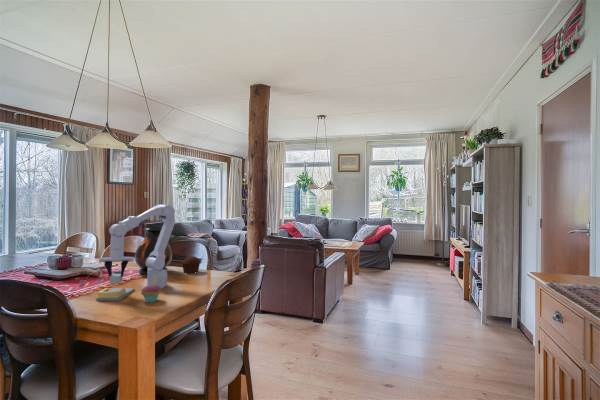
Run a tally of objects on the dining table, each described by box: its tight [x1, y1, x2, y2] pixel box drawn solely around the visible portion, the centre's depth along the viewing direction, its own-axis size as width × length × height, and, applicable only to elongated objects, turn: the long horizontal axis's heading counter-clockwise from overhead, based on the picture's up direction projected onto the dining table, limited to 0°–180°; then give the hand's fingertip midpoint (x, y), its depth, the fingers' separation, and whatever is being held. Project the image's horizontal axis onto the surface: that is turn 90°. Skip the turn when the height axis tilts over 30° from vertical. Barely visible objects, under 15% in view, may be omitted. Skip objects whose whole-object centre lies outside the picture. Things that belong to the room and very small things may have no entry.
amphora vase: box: [134, 226, 173, 275], centre depth 200 cm, size 22×22×28 cm
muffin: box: [181, 255, 201, 274], centre depth 203 cm, size 12×11×10 cm
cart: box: [109, 270, 123, 284], centre depth 154 cm, size 6×4×4 cm
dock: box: [96, 287, 135, 302], centre depth 152 cm, size 10×16×4 cm, turn 5°
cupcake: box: [140, 274, 162, 303], centre depth 146 cm, size 9×8×12 cm
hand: (116, 276), depth 154 cm, fingers closed on cart, 4 cm apart
